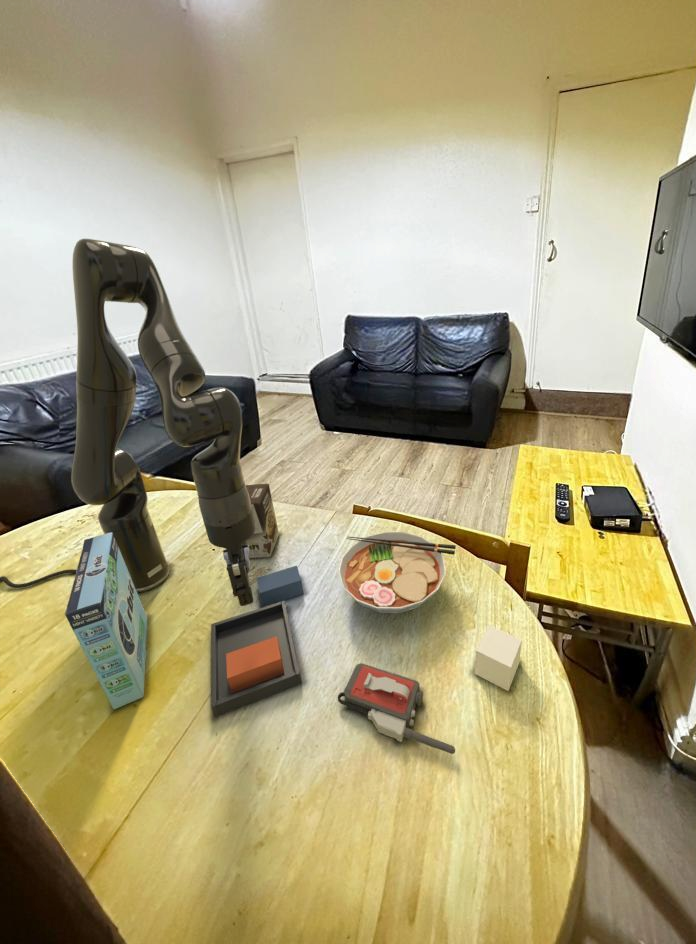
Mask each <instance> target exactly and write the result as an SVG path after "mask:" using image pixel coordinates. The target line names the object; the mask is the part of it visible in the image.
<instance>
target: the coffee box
mask: <svg viewBox="0 0 696 944" xmlns="http://www.w3.org/2000/svg"><path fill="white" fill-rule="evenodd" d="M245 485H246V487H247V490H248V493H249V497H250V502H251V506H252V511H253V516H254V520H255V525H256V529H255V532H254V534H253V535H252V536H251V537H250V538H249V539H248V542H249V543H248V544H249V555H248V556H249V559H251V558H256V559H257V558H271V556H272V553H273V551H274V548H275V546H276V543H277V541H278V539H279V536H280V531H279V527H278V523H277V517H276V513H275V508H274V502H273V498H272V497H273V496H272V492H271V488H270V483H257V484H256V483H255V484H245Z"/></svg>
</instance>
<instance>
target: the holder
mask: <svg viewBox="0 0 696 944" xmlns="http://www.w3.org/2000/svg"><path fill="white" fill-rule="evenodd" d="M210 628H211V629H210V708H211V710H212V714H213V715H214V717H215V718H216V717H218V716H221V715H223V714H227V713H229V712H231V711H234V710H237V709H239V708H241V707H244V706H247V705H249V704H253V703H255V702H257V701H260V700H262V699H264V698H267V697H270V696H272V695H274V694H277V693H280V692H283V691H285V690H288V689H290V688H293V687H295V686H298V685H300V684H302V683H303V680H302V676H301V671H300V666H299V661H298V656H297V652H296V647H295V642H294V638H293V632H292V628H291V623H290V619H289V614H288V609H287V605H286V600H283V601H279V602H276V603H273V604H270V605H267V606H264V607H262V606H261V607H260V608H256V609H253V610H250V611H248V612H244V613H240V614H237V615H235V616H232V617H229V618H225V619H222V620H219V621H216V622H214V623H211V624H210ZM276 636H277V638H278V643H279V647H280V651H281V657H282V662H283V668H284V674H282V675H280V676H277V677H274V678H272V679H269V680H267V681H264V682H261V683H259V684H256V685H253V686H251V687H248V688H245V689H243V690H240V691H238V692H235V693H232V692H231V689H230V686H229V683H228V680H227V663H226V654H227V653H230V652H233V651H236V650H239V649H241V648H244V647H247V646H250V645H253V644H256V643H259V642H261V641H264V640H267V639H270V638H273V637H276Z"/></svg>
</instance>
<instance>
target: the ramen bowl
mask: <svg viewBox="0 0 696 944" xmlns="http://www.w3.org/2000/svg"><path fill="white" fill-rule="evenodd" d="M345 539H346V540H351V541H357V542H355V543H353V544H352V545H351V546H349V548H348V549H347V551H346V552H345V553H344V554H343V555H342V557H341V560H340V563H339V568H338V572H337V573H338V577H339V580H340V584H341V587H342V589H343V590H344V591H345V592H346V593H347V594H348V595H349V596H350V597H351V598H352V599H353V600H355V601H356V602H357V603H358V604H359V605H361V606H362V607H364V608H367V609H370V610H372V611H375V612H378V613H380V614H402V613H404V612H407V611H411V610H414V609H417V608H419V607H420V606H421V605H423V604H424V603H426V601H428V600H429V599H430V598H431V597H433V596H434V595H435V594H436V593H437V591H439V589H440V586H441V585H442V582H443V581H444V580H445V579H444V578H445V576H446V574H447V570H446V561H445V560H446V559H445V557H444V556H443V554H446V555H453V556H454V555H455V554H456V549H457V548H456V547H457V546H456V544H446V543H445V544H444V543H434V542H432V541H429V540H428V539H427V538H425V537H423V536H421V535H418V534H415V533H411V532H407V531H381V532H378V533H374V534H370V535H367V536H366V537H359V536H358V537H357V536H347V537H346V538H345Z"/></svg>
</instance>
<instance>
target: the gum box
mask: <svg viewBox="0 0 696 944" xmlns="http://www.w3.org/2000/svg"><path fill="white" fill-rule="evenodd" d="M76 570H77V571H76V573H75V576H74V579H73V583H72V586H71V591H70V595H69V599H68V602H67V605H66V608H65V612H64V615H65V617H66V619H67V621H68V623H69V625H70V628H71V629H72V632H73V633H74V635H75V638H76V640H77V641H78V643H79V644H80V646H81V649H82V650H83V652H84V654H85V657H86V658H87V660H88V662H89V664H90V667H91V669H92V670H93V672H94V674H95V676H96V678H97V680H98V683H99V684H100V686H101V688H102V689H103V692H104V694H105V695H106V698H107V700H108V701H109V704H110V706H111V707H112V709H113V710H114V711H115V710H117V709H119V708H121V707H124V706H126V705H128V704H131V703H133V702H136V701H138V700H140V699H143V698H144V696H145V676H146V654H147V635H148V634H147V633H148V615H147V614H146V611H145V609H144V606H143V604H142V601H141V599H140V597H139V593H138V592H137V591H136V589H135V587H134V584H133V582H132V579H131V577H130V574H129V572H128V569H127V567H126V564H125V562H124V560H123V557H122V555H121V552H120V550H119V547H118V545H117V542H116V540H115V538H114V535H113V533H112V532H111V533H107V534H104V533H103V534H100V535H96V536H92V537H89V538H86V539H84V540H83V544H82V549H81V553H80V556H79V560H78V565H77V567H76Z"/></svg>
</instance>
